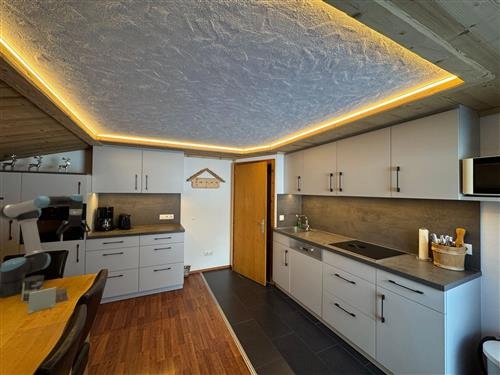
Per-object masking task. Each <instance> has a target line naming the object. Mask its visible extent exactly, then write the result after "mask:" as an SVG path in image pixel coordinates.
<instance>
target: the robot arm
mask: <svg viewBox="0 0 500 375" xmlns="http://www.w3.org/2000/svg"><path fill="white" fill-rule="evenodd" d="M83 203H84V195H83V194H80V193H79V194H76V193H73V194H70V196H69V195H68V196H66V195H59V196H58V195H56V196H55V195H51V196H49V195H48V196H46V195H42V196H41V195H40V196H36V197H35V198H34V199H31V200H28V201H24V202H20V203H15V204H14V203H13V204H7V205H3V206H2V207H0V218H2V219H3V220H5V221H15V220H16V223H18V224H20V227H21V228H20V229H21V232H22V233H21V234H22V238H23V244H24V248H25V252H26V253H25V254H24V256H23V257H21V256H20V257H15V258H11V259H9V260H6V261H4V262H3V263H2V264H1V266H0V298H1V299H3V298H9V297H13V296H14V297H15V296H16V295H20V294H22V287H23V279H25V278H26V275H27V274H31V273H34V272H38V271H40V270H44V269H46V268H47V267H49V265H50V263H51V260H52V258H51V255H50V254H49V253H48V252H47V253H46V251H45V250H43V249H42V244H41V239H40V234H39V228H38V224H37V223H38V222H37V221H38V220H39V218H40V217H41V214H42V210H41V209H43V208H48V207H49V208H50V207H69V211H68V214H69V215H68V220H67V221H66V220H63V221H62V224H61V225H60V226H59V228H58V229H57V231H56V232H55V234H56V235H58V239H59V240H60V244H63V238H64V237H63V236H64V235H63V234H64V233H65V232H66V231H67V230H68V229H70V228H71V227H80V228H81V229H82V230H83V231H84V232H83V233H84V234H83V235H84V236H83V241H84V242H86V239H87V237H88V236H89V233H90V232H92V229H90V226H89V224H88V221H87V219H84V220H83V218H82V217H83V215H82V214H83ZM82 223H83V224H84V226H85V227H86V228H85V227H84V226H83V225H81V224H82ZM65 225H67V226H65ZM64 226H65V227H64Z"/></svg>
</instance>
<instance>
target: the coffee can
mask: <svg viewBox="0 0 500 375" xmlns="http://www.w3.org/2000/svg"><path fill="white" fill-rule="evenodd" d="M44 283H45V275H41V274H39V275H37V274H36V275H30V276H28V277H25V279H23V287H22V293H21V297H20V298H21V299H20V302H21V303H29V293H32V292H36V291H41V290H44Z"/></svg>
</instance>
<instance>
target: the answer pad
mask: <svg viewBox="0 0 500 375" xmlns="http://www.w3.org/2000/svg"><path fill="white" fill-rule="evenodd" d="M66 301H69V296H68V295H67V299H65V300H61V301H58V302H55V304H59V303H62V302H66Z"/></svg>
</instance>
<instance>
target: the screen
mask: <svg viewBox="0 0 500 375" xmlns="http://www.w3.org/2000/svg"><path fill="white" fill-rule="evenodd" d="M56 290H57V286H53V287H49V288H45V289H43V290H41V291H36V292H32V293H29V302H28V306H27V315H32V314H33V313H34V312H38V311H41V310H46V309H53V308H56V303H55V299H56Z"/></svg>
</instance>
